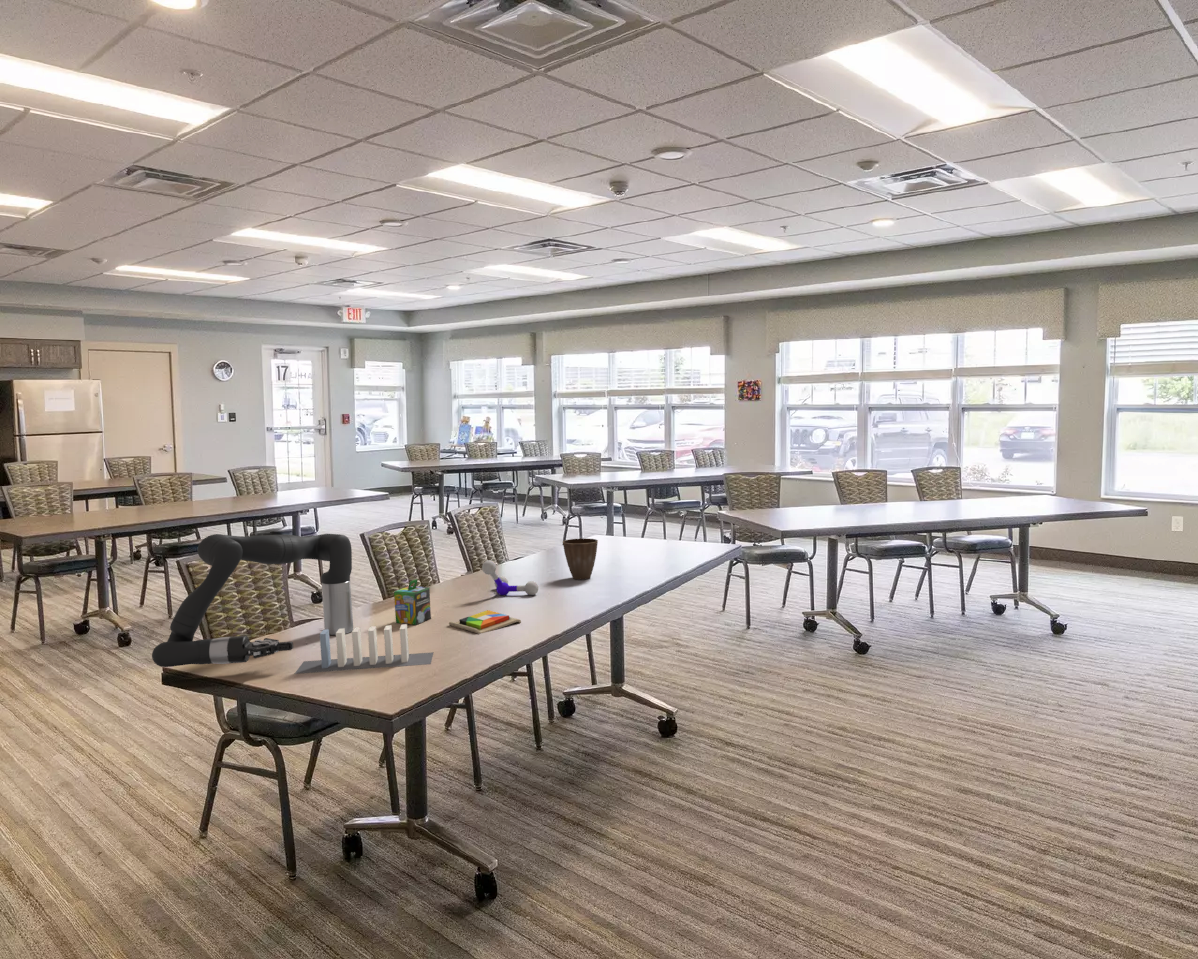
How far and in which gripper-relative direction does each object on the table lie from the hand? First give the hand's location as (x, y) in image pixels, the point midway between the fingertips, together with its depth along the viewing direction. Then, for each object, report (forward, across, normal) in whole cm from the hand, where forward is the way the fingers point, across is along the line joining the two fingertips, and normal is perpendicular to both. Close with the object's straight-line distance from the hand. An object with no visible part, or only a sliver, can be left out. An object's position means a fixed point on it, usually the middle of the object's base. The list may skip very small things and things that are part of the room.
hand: (292, 645), depth 244 cm
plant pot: (+94, -106, -7) cm, 142 cm away
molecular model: (+65, -84, -7) cm, 106 cm away
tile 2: (+14, 0, -7) cm, 15 cm away
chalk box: (+29, -49, -7) cm, 57 cm away
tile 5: (+27, 0, -7) cm, 28 cm away
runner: (+20, 0, -7) cm, 22 cm away
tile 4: (+23, 0, -7) cm, 24 cm away
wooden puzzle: (+54, -38, -8) cm, 67 cm away
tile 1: (+9, 0, -7) cm, 11 cm away
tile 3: (+18, 0, -7) cm, 19 cm away
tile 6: (+32, 0, -7) cm, 32 cm away
